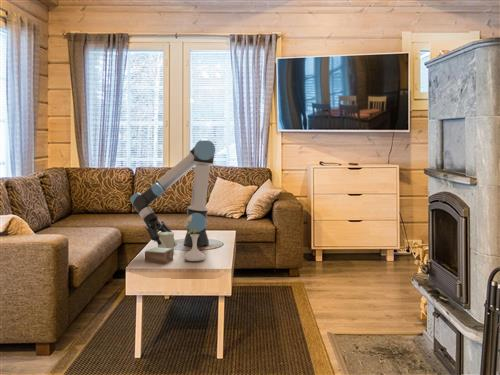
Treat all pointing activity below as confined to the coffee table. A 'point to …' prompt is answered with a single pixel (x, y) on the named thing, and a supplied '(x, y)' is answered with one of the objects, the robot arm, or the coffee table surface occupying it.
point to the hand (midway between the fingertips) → (170, 247)
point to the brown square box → (159, 255)
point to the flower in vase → (194, 252)
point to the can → (167, 239)
